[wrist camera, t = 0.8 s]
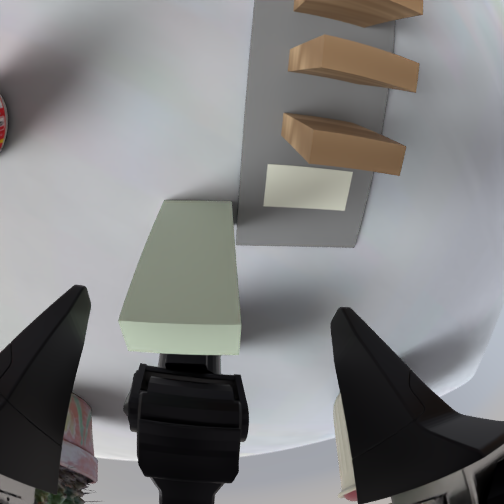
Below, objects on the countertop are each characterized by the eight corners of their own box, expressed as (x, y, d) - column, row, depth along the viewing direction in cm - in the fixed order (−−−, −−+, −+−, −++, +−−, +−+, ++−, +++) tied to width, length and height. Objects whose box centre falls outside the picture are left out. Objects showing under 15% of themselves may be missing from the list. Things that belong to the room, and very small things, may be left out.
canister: (295, 392, 37) (323, 531, 20) (413, 331, 33) (479, 468, 15) (338, 421, 46) (363, 518, 29) (425, 377, 42) (466, 472, 24)
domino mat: (352, 245, 24) (354, 248, 24) (236, 242, 23) (236, 245, 23) (392, -60, 9) (395, -62, 9) (265, -94, 8) (265, -96, 8)
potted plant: (64, 422, 43) (48, 523, 22) (3, 367, 32) (-33, 489, 11) (135, 430, 43) (128, 550, 22) (75, 372, 32) (44, 536, 11)
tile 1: (230, 225, 22) (239, 355, 12) (165, 224, 22) (128, 351, 12) (231, 201, 21) (241, 324, 11) (164, 200, 21) (118, 320, 11)
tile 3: (358, 84, 17) (415, 92, 11) (287, 71, 16) (321, 67, 10) (360, 63, 16) (419, 63, 10) (289, 49, 15) (324, 34, 9)
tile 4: (349, 143, 19) (399, 175, 13) (281, 135, 18) (308, 163, 13) (352, 122, 18) (406, 146, 12) (283, 112, 18) (313, 129, 12)
